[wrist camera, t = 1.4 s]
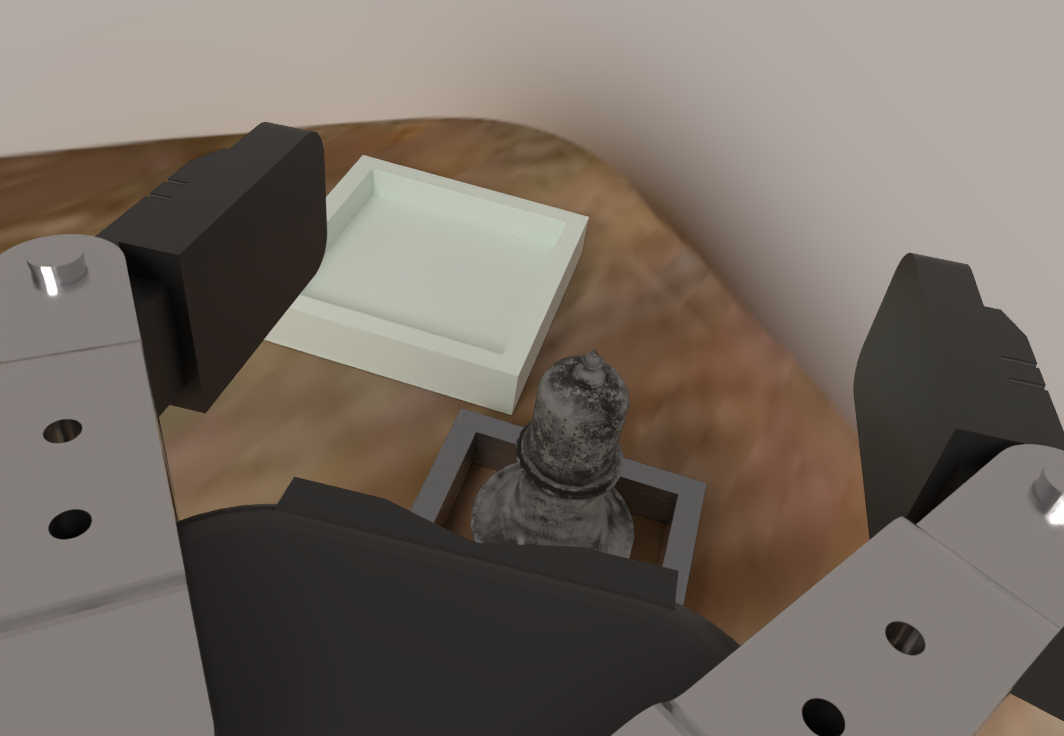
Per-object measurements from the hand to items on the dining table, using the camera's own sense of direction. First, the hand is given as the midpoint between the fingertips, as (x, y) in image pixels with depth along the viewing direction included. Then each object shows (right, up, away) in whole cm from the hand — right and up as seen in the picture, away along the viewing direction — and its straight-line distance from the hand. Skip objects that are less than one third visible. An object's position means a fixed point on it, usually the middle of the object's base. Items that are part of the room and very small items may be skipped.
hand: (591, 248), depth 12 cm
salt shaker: (-1, -10, +22) cm, 24 cm away
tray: (-6, +2, +33) cm, 33 cm away
